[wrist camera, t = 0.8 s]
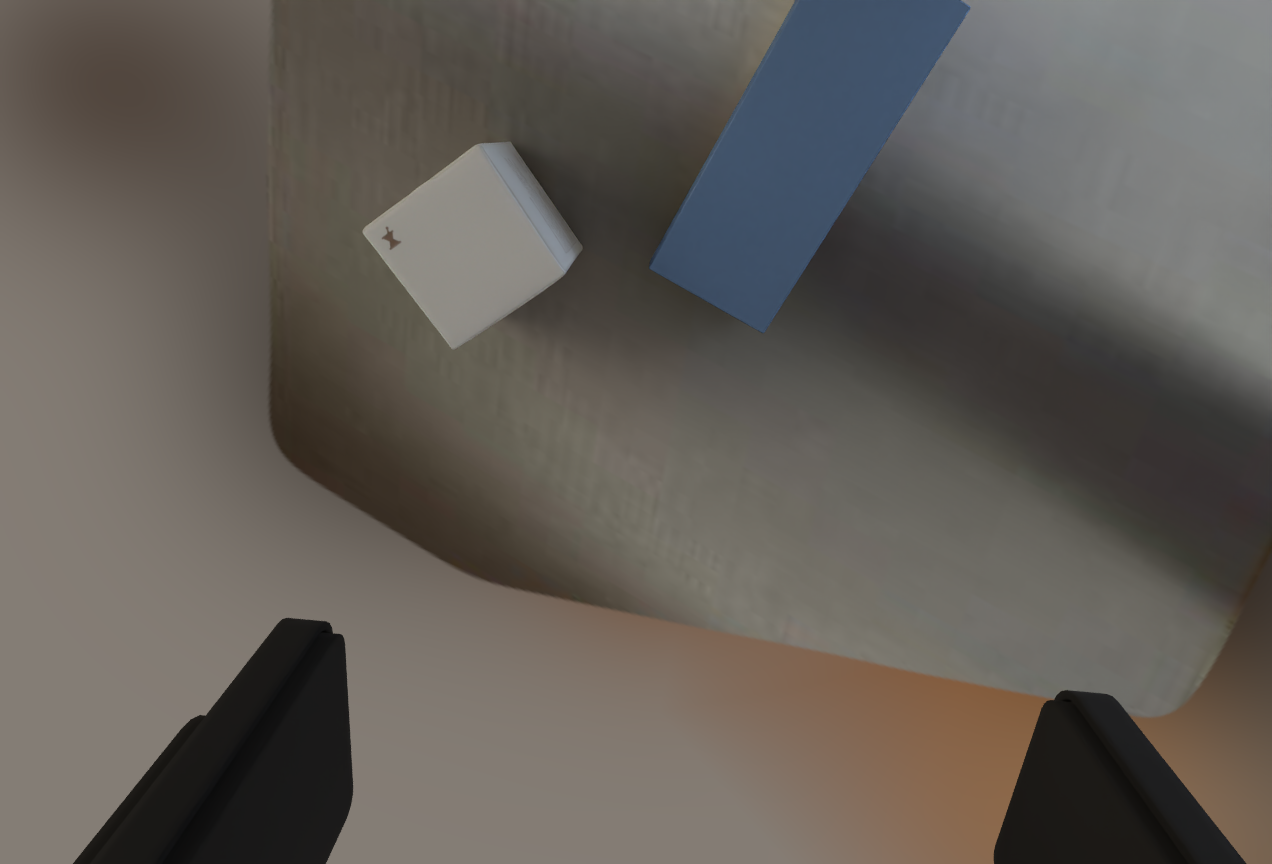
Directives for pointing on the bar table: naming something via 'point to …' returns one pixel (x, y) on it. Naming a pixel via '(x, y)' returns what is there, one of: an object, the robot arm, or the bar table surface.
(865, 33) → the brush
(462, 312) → the product box
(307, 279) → the bar table surface
